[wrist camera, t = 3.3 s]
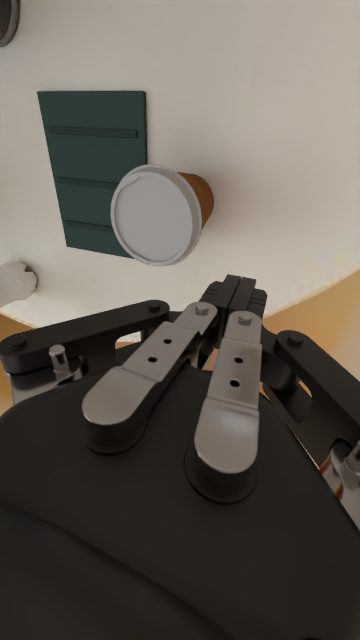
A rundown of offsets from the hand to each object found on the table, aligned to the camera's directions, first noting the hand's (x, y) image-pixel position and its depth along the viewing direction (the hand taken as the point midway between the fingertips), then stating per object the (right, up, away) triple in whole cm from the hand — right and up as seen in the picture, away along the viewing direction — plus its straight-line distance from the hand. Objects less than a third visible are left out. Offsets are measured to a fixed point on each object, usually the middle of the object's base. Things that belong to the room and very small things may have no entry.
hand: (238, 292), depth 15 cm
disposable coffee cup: (-2, +14, +21) cm, 25 cm away
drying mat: (-14, +18, +24) cm, 33 cm away
